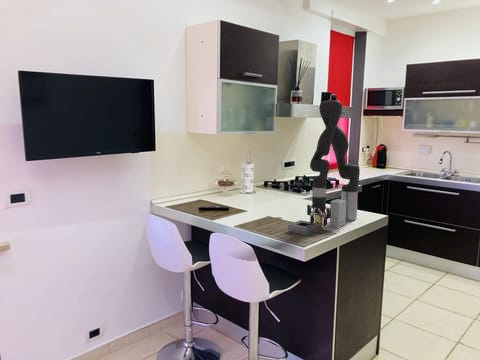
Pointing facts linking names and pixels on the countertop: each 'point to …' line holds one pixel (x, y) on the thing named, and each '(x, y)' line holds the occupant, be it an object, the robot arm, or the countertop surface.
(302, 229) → the collar
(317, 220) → the piston
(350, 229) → the countertop surface
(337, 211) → the skincare box
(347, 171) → the robot arm
